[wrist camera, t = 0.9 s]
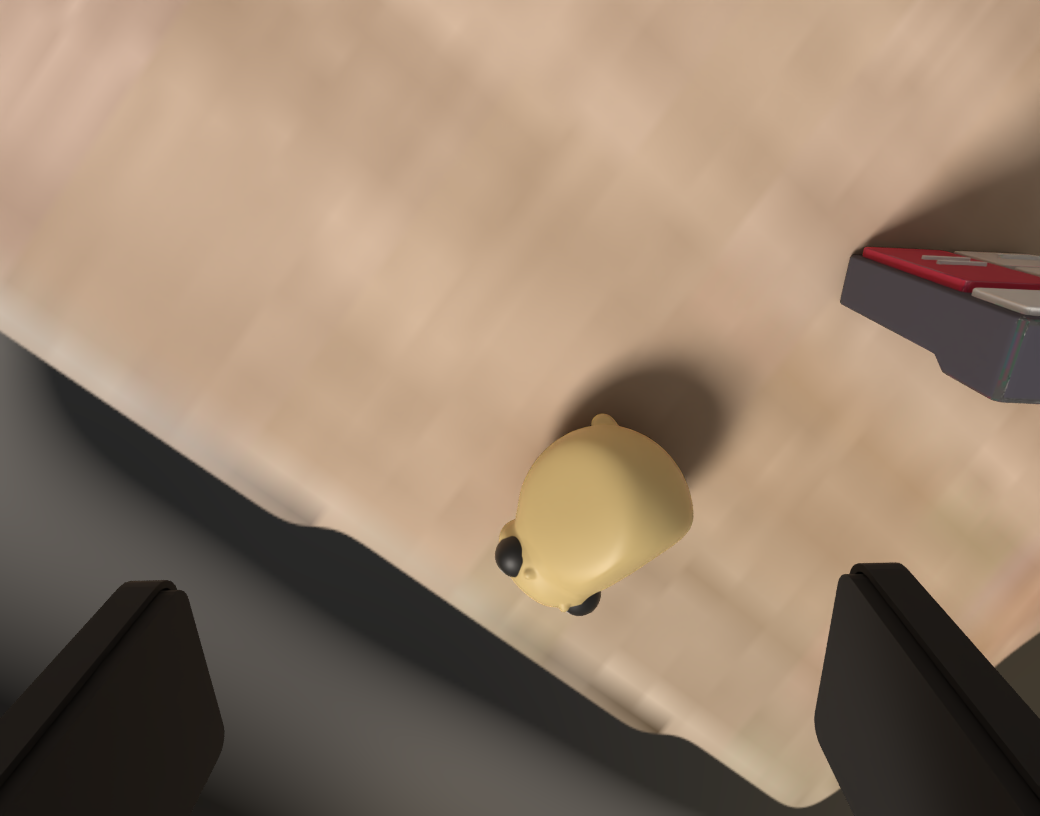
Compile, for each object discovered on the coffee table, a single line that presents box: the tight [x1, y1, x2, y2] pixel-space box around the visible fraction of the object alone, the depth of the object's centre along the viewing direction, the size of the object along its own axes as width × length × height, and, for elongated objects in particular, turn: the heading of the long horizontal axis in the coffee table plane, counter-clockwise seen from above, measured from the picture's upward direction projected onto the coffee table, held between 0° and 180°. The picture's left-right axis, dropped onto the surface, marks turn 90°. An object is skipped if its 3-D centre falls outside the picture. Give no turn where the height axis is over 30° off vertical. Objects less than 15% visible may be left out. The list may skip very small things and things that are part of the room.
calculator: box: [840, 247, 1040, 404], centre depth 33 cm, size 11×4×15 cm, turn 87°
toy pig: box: [495, 414, 693, 616], centre depth 40 cm, size 10×12×11 cm
